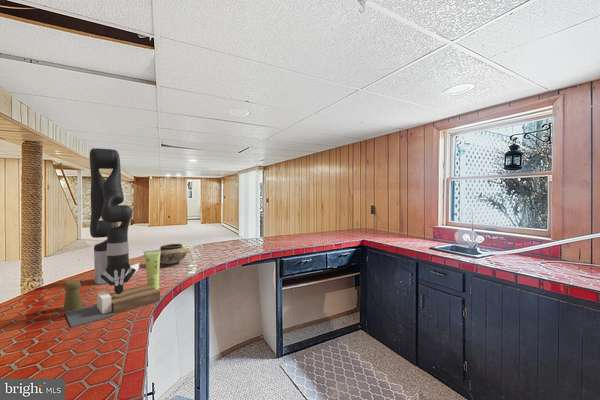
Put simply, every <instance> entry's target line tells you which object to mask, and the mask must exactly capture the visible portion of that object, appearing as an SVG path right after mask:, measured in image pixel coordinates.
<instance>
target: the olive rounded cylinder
mask: <svg viewBox="0 0 600 400" xmlns="http://www.w3.org/2000/svg"><path fill="white" fill-rule="evenodd" d="M81 286H82V284H81V282H80V281H79V280H72V281H68V282H66V283H65V284H64V286H63V289H64V291H65V297H64V304H63V309H62V310H63V311H64V312H68V311H72V310H76V309H80V308H83V301H82V296H81V291H80V288H81Z"/></svg>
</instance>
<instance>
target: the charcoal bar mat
mask: <svg viewBox="0 0 600 400" xmlns="http://www.w3.org/2000/svg"><path fill="white" fill-rule="evenodd" d="M64 314H65V317H66V319H67V321H68V322H67V323H68V324H69V326H70V328H71V329H72V328H76V327H80V326H84V325H87V324H89V323H93V322H97V321H100V320H101V321H102V320H103V319H107V318H110V317H114V316H116V314H114V312H113V311H111V312H108V313H104V314H102V313H101V312H100V310H99V309H98V308H97V303H96V304H93V305H92V304H91V305H88V306H83V307H81V308H79V309H76V310H72V311H64Z"/></svg>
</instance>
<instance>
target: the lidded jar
mask: <svg viewBox="0 0 600 400" xmlns="http://www.w3.org/2000/svg"><path fill="white" fill-rule="evenodd" d="M129 265H130V267H131V268H134V269H135V270H136V271H135V273H134V274H133V275H132V276H134V275H136V273H137V272H138V270H139V267H140V259H136V258H135V259H134V258H133V259H132V258H131V259H130V258H129ZM128 271H129V270H128ZM128 271H127V273H126V274H125V275H124V277H126V275H127V274H128V273H129V272H128Z"/></svg>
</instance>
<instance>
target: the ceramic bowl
mask: <svg viewBox="0 0 600 400" xmlns="http://www.w3.org/2000/svg"><path fill="white" fill-rule="evenodd" d="M154 250H161V253H160V263H162V264H163V266H165V267H175V266H178V265H180V263H181V261H182V260H184V259H185V257H186V256H187V254H188V253H191V252H192V249H190V248H185V247H183V244H181V243H169V244H163V245H161V246H160V248H158V249H152V251H154Z"/></svg>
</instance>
